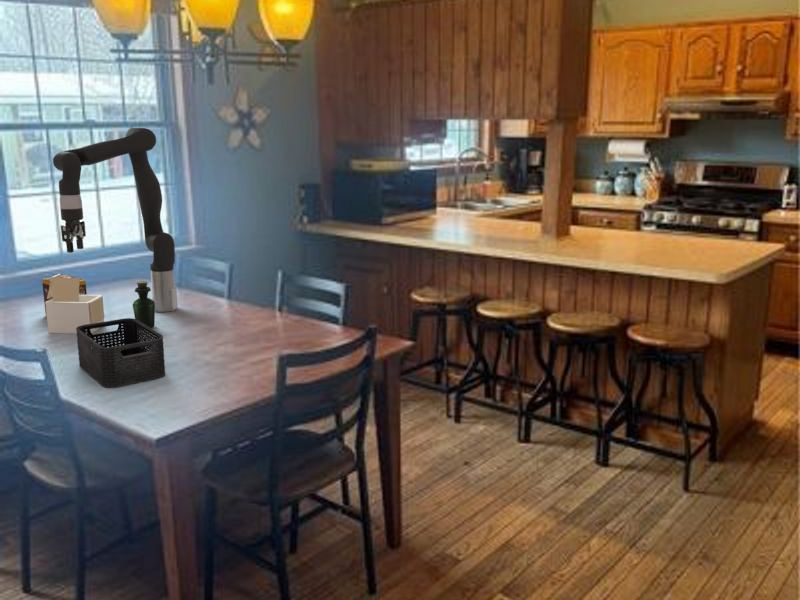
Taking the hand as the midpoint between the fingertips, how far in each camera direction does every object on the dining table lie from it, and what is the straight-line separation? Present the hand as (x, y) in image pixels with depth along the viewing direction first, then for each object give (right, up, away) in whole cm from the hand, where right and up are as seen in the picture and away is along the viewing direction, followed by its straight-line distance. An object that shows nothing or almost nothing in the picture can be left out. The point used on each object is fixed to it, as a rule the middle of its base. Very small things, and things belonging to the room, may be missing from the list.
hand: (75, 250), depth 269 cm
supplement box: (-13, -26, +21) cm, 36 cm away
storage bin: (+33, -42, -40) cm, 67 cm away
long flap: (-1, -15, -5) cm, 16 cm away
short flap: (-8, -13, 0) cm, 16 cm away
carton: (-1, -30, +4) cm, 30 cm away
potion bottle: (+24, -30, +7) cm, 39 cm away
